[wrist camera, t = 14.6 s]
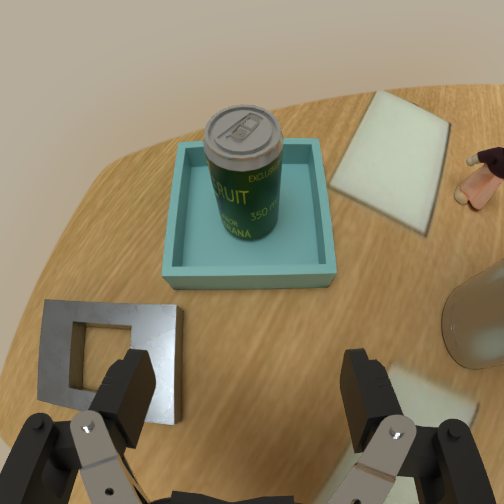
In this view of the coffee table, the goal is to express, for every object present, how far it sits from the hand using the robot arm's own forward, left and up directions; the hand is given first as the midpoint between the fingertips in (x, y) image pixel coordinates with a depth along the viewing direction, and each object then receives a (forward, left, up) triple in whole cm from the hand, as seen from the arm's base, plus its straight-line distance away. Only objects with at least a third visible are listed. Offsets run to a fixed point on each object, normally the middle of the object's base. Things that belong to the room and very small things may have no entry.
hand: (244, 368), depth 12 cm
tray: (0, -14, -15) cm, 21 cm away
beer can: (0, -14, -14) cm, 20 cm away
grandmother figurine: (-27, -17, -15) cm, 35 cm away
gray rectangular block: (+13, 0, -15) cm, 20 cm away
